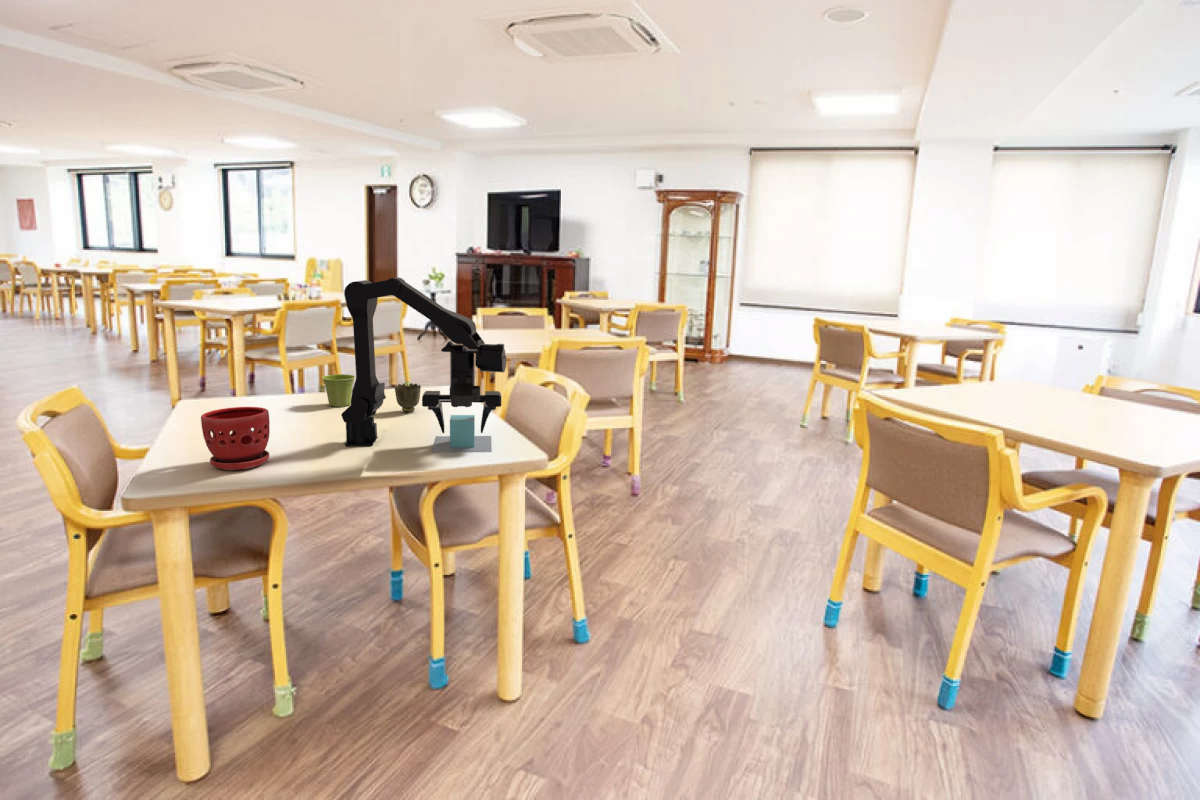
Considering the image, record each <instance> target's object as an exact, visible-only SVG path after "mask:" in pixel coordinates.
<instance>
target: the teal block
mask: <svg viewBox="0 0 1200 800" xmlns="http://www.w3.org/2000/svg"><path fill="white" fill-rule="evenodd" d="M475 416H476V415H474V414H451V415H450V418H449V436H450V447H474V443H475V436H476V435H475V434H476V433H475V432H476V431H475V425H476V423H475V420H476V419H475Z"/></svg>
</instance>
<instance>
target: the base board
mask: <svg viewBox="0 0 1200 800" xmlns="http://www.w3.org/2000/svg"><path fill="white" fill-rule="evenodd" d="M434 437H435V438H434V442H433V447H432V449H431V454H432V453H433V454H434V453H438V454H439V453H440V454H441V453H446V454H447V453H492V451H493V450H492V449H493V448H492V436H491V435H475V443H474V447H450V435H440V436H439V435H437V436H434Z"/></svg>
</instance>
